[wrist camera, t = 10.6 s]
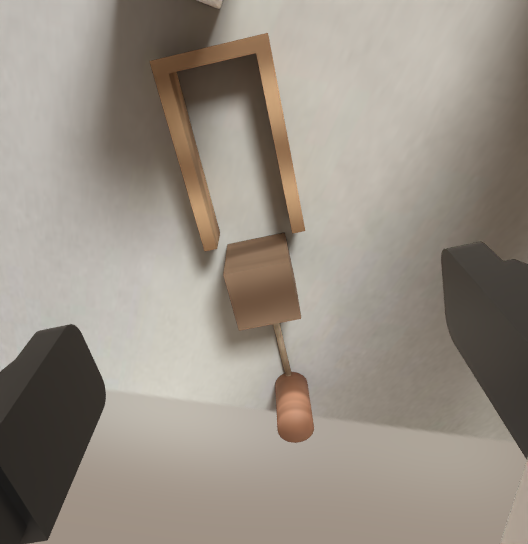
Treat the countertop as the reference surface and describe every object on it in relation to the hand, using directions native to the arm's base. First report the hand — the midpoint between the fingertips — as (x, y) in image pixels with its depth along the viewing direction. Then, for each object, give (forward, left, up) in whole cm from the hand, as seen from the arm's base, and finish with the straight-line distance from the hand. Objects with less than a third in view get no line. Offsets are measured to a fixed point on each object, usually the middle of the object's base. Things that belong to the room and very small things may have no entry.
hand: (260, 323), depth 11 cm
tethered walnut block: (+2, +18, -30) cm, 35 cm away
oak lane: (+2, +1, -30) cm, 30 cm away
